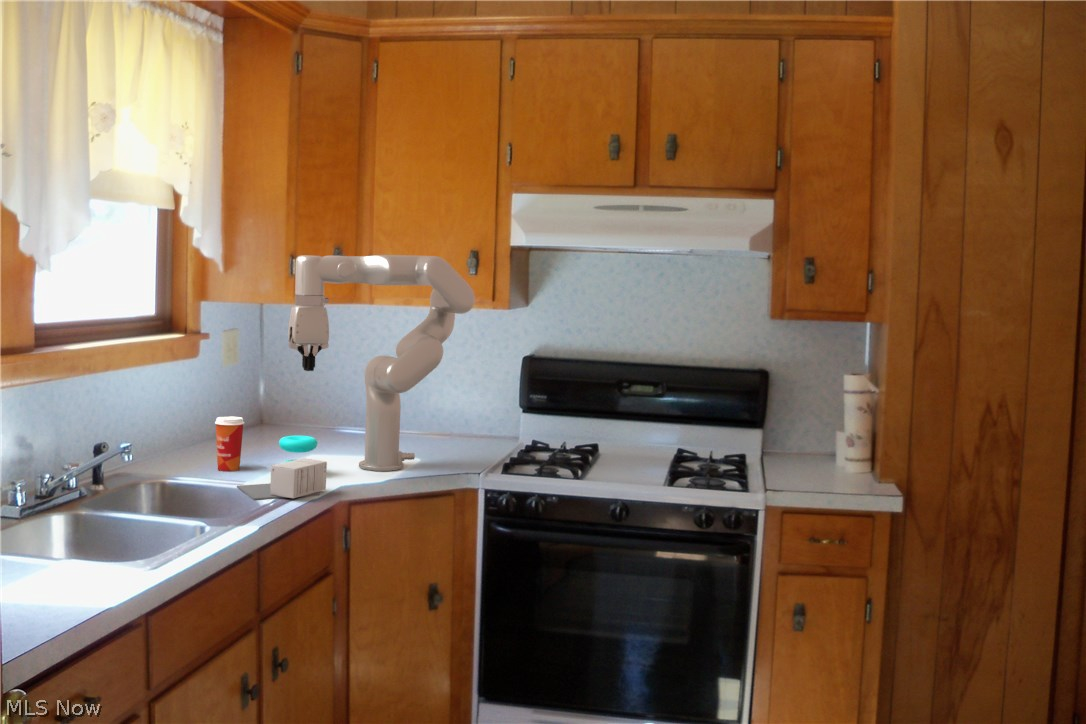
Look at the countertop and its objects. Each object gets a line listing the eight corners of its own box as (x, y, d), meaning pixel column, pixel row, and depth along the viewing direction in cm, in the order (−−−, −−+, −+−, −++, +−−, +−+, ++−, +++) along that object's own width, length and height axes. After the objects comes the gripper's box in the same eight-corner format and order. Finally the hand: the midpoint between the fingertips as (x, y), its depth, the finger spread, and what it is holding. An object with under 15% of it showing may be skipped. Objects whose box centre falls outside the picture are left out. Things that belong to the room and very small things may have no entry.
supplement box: (302, 486, 249) (268, 494, 238) (304, 457, 249) (270, 464, 237) (326, 490, 246) (293, 499, 235) (328, 461, 246) (294, 468, 234)
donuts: (310, 433, 271) (322, 439, 263) (309, 469, 272) (321, 477, 264) (274, 435, 266) (285, 441, 258) (273, 472, 267) (284, 479, 259)
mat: (299, 482, 255) (299, 481, 255) (319, 494, 242) (319, 493, 242) (236, 487, 246) (236, 485, 246) (253, 500, 234) (254, 498, 234)
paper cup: (209, 468, 268) (210, 416, 267) (236, 465, 273) (237, 415, 272) (220, 473, 262) (221, 420, 261) (248, 470, 267) (249, 419, 266)
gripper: (330, 301, 271) (329, 368, 273) (277, 301, 262) (276, 369, 264) (341, 302, 265) (340, 371, 267) (288, 302, 256) (287, 372, 258)
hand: (308, 370), depth 265 cm, fingers closed
